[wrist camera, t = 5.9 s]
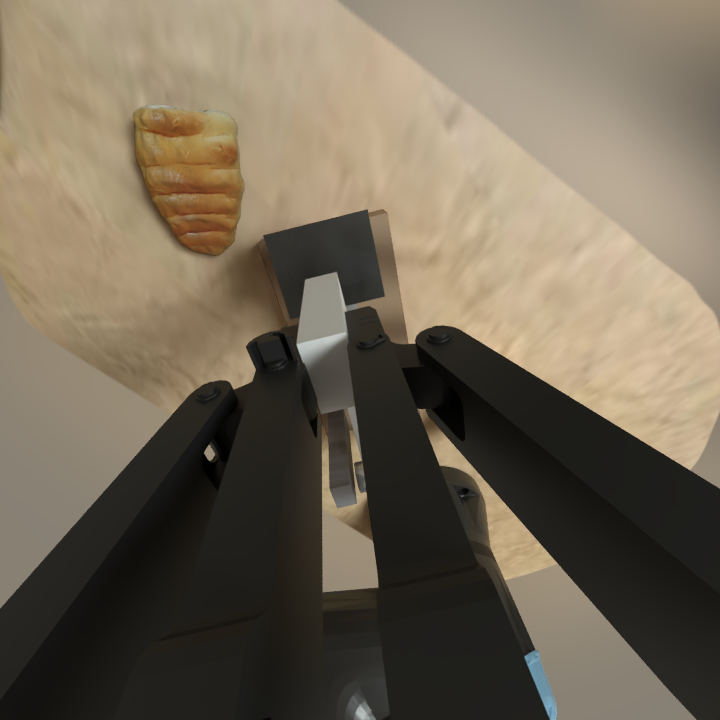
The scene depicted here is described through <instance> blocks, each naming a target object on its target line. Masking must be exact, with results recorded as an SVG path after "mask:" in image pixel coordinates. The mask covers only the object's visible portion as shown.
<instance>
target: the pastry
mask: <svg viewBox="0 0 720 720" xmlns="http://www.w3.org/2000/svg"><path fill="white" fill-rule="evenodd" d="M133 119H134V122H135V130H136V133H135V141H136V158H137V160H138V163H139V165H140V168H141V170H142V172H143V177H144V181H145V184H146V187H147V188H148V190H149V192H150V194H151V197H152V200H153V202H154V203H155V204H156V205H157V207H158V209H159V211H160V213H161V215H162V216H163V217H164V218H165V219H166V220H167V222H168V223H169V225H170V227H171V229H172V231H173V232H174V234H175V236H176V238H177V239H178V240H179V241H180V242H181V243H182V244H183V245H184V246H186V247H188V248H190V249H191V250H193V251H196V252H200V253H205V254H211V255H220V254H222V253H223V252H224V251H225V250H226V249H227V248H228V247H229V246H230V245H231V244H232V243H233V242H234V240H235V234H236V229H237V224H238V221H239V219H240V216H241V215H240V213H241V200H242V195H243V192H244V180H243V178H242V176H241V173H240V161H239V160H240V154H239V147H238V143H237V130H238V127H237V124H236V122H235V120H234V118H233V117H232V116H230V115H229V114H228V113H226V112H220V111H215V110H206V111H197V112H196V111H186V110H182V109H176V108H172V107H170V106H166V105H147V106H145V107H141V108H139V109H138V110H136V111H135V112H134V113H133Z"/></svg>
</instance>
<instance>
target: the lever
mask: <svg viewBox="0 0 720 720" xmlns="http://www.w3.org/2000/svg"><path fill="white" fill-rule="evenodd" d="M264 239H265V243H266V246H267V249H268V252H269V255H270V258H271V261H272V264H273V267H274V270H275V274H276V277H277V280H278V283H279V286H280V289H281V292H282V295H283V298H284V301H285V305H286V308H287V311H288V314H289V317H290V320H291V319H295V318H299V317H300V314H301V307H302V299H303V292H304V285H305V280H306V279H310V278H314V277H318V276H322V275H326V274H330V273H334V272H337V275H338V279H339V283H340V286H341V290H342V294H343V298H344V302H345V306H346V310H347V311H350V310H354V309H358V307H357V303H361V302H365V301H369V300H373V299H377V298H381V297H385V293H384V288H383V283H382V278H381V273H380V268H379V264H378V259H377V254H376V249H375V244H374V239H373V234H372V229H371V224H370V219H369V214H368V209H367V210H363V211H359V212H355V213H351V214H347V215H343V216H339V217H335V218H331V219H327V220H323V221H319V222H315V223H311V224H307V225H303V226H299V227H295V228H292V229H288V230H284V231H280V232H276V233H272V234H268V235H264ZM347 409H348V412H349V416H350V420H351V423H352V427H353V430H354V434H355V437H356V441H357V444H358V448H359V451H360V455H361V447H360V440H359V433H358V425H357V418H356V410H355V406H354V407H350V408H347ZM361 458H362V455H361ZM354 466H355V474H356V479H357V483H358V487H359V490H360V493H363V492H367V491H366V484H365V477H364V469H363V462H362V461H360V462H355V463H354Z"/></svg>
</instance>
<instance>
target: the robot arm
mask: <svg viewBox="0 0 720 720" xmlns="http://www.w3.org/2000/svg"><path fill="white" fill-rule="evenodd" d="M415 342H416V344H397V343H394V342H391V340H390V338H389V336H388V335H387V334H385V332H384V329H383V327H382V324H381V321H380V319H379V316H378V314H377V311H376V309H374V308H372V307H370V306H367V307H362V308H358V309H354V310H350V311H347V310H346V306H345V302H344V298H343V294H342V290H341V286H340V283H339V279H338V275H337V272H334V273H330V274H326V275H322V276H318V277H314V278H310V279H306V280H305V285H304V292H303V299H302V307H301V314H300V321H299V324H297V325H293V326H289V327H285V328H282V329H281V330H280V331H273V332H268V333H265V334H262V335H260V336H258V337H256V338H254V339H253V340H252V341H250V342H249V343H248V344H247V346H246V348H247V350H248V353H249V355H250V357H251V359H252V362H253V364H254V366H255V368H256V372H255V375H254V378H253V382H251V383H249V384H247V385H244V386H242V387H239V388H237V389H235V390H233V388H232V386H231V384H230V382H228V381H222V380H219V381H215V382H209V383H207V384H204V385H202V386H201V387H200V388H198V389H197V390H195V391H194V392H193V393H192V394H190V395H189V396H188V397H187V399H186V400H185V401H184V402H183V403H182V404H181V405H180V406H179V408H178V409H177V410H176V411H175V412H174V413H173V414H172V415H171V417H170V418H169V419H168V420H167V421H166V422H165V423H164V424H163V426H162V427H161V428H160V429H159V430H158V431H157V432H156V434H155V435H154V436H153V437H152V438H151V439H150V440H149V442H148V443H147V444H146V445H145V446H144V447H143V448H142V449H141V451H140V452H139V453H138V454H137V455H136V456H135V457H134V458H133V460H132V461H131V462H130V463H129V464H128V465H127V466H126V467H125V469H124V470H123V471H122V472H121V473H120V474H119V475H118V476H117V478H116V479H115V480H114V481H113V482H112V483H111V484H110V486H109V487H108V488H107V489H106V490H105V491H104V492H103V494H101V496H100V497H99V498H98V499H97V500H96V501H95V502H94V504H93V505H92V506H91V507H90V508H89V509H88V510H87V512H86V513H85V514H84V515H83V516H82V517H81V518H80V520H78V522H77V523H76V524H75V525H74V526H73V527H72V528H71V529H70V531H69V532H68V533H67V534H66V535H65V536H64V537H63V539H62V540H61V541H60V542H59V543H58V544H57V545H56V547H55V548H54V549H53V550H52V551H51V552H50V553H49V554H48V555H47V557H46V558H45V559H44V560H43V561H42V562H41V563H40V564H39V566H38V567H37V568H36V569H35V570H34V571H33V573H32V574H31V575H30V576H29V577H28V578H27V579H26V580H25V581H24V583H23V584H22V585H21V586H20V587H19V588H18V589H17V590H16V592H15V593H14V594H13V595H12V596H11V597H10V598H9V599H8V601H7V602H6V603H5V604H4V605H3V606H2V607H1V609H0V720H556V719H557V708H556V702H555V699H554V697H553V694H552V691H551V688H550V686H549V683H548V680H547V678H546V675H545V672H544V669H543V667H542V664H541V661H540V655H539V653H538V650H535V648H534V645H533V643H532V641H531V639H530V636H529V634H528V632H527V629H526V627H525V625H524V623H523V620H522V618H521V616H520V614H519V612H518V609H517V607H516V605H515V602H514V600H513V598H512V596H511V593H510V591H509V589H508V587H507V584H506V582H505V580H504V578H503V575H502V573H501V571H500V569H499V566H498V564H497V562H496V560H495V557H494V555H493V553H492V550H491V548H490V541H489V532H488V523H487V514H486V505H485V501H484V498H483V495H482V493H481V491H480V489H479V487H478V485H477V483H476V482H475V480H474V479H473V478H472V477H471V476H469V475H468V474H467V473H465V472H463V471H460V470H458V469H454V468H449V467H440V466H439V463H438V461H437V458H436V455H435V453H434V450H433V448H432V445H431V443H430V440H429V438H428V435H427V432H426V430H425V427H424V425H423V422H422V420H421V417H420V414H419V412H418V409H426V412H427V414H428V416H429V417H430V418H431V419H432V421H433V422H434V423H435V424H436V425H437V426H438V427H439V429H440V430H441V431H442V432H443V433H444V434H445V435H446V437H447V438H448V439H449V440H450V441H451V442H452V443H453V444H454V446H455V447H456V448H457V449H458V450H459V451H460V452H461V454H462V455H463V456H464V457H465V458H466V459H467V460H468V462H469V463H470V464H471V465H472V466H473V467H474V468H475V470H476V471H477V472H478V473H479V474H480V475H481V476H482V478H483V479H484V480H485V481H486V482H487V483H488V484H489V486H490V487H491V488H492V489H493V490H494V491H495V492H496V494H497V495H498V496H499V497H500V498H501V499H502V500H503V502H504V503H505V504H506V505H507V506H508V507H509V508H510V509H511V511H512V512H513V513H514V514H515V515H516V516H517V517H518V519H519V520H520V521H521V522H522V523H523V524H524V525H525V527H526V528H527V529H528V530H529V531H530V532H531V533H532V535H533V536H534V537H535V538H536V539H537V540H538V541H539V543H540V544H541V545H542V546H543V547H544V548H545V549H546V551H547V552H548V553H549V554H550V555H551V556H552V557H553V559H554V560H555V561H556V562H557V563H558V564H559V565H560V566H561V567H562V569H563V570H564V571H565V572H566V573H567V574H568V576H569V577H570V578H571V579H572V580H573V581H574V582H575V584H576V585H577V586H578V587H579V588H580V589H581V590H582V592H583V593H584V594H585V595H586V596H587V597H588V598H589V599H590V601H591V602H592V603H593V604H594V605H595V606H596V608H597V609H598V610H599V611H600V612H601V613H602V614H603V615H604V617H605V618H606V619H607V620H608V621H609V622H610V623H611V625H612V626H613V627H614V628H615V629H616V630H617V631H618V633H619V634H620V635H621V636H622V637H623V638H624V639H625V641H626V642H627V643H628V644H629V645H630V646H631V647H632V649H633V650H634V651H635V652H636V653H637V654H638V655H639V657H641V659H642V660H643V661H644V662H645V663H646V665H647V666H648V667H649V668H650V669H651V670H652V671H653V672H654V674H655V675H656V676H657V677H658V678H659V679H660V680H661V682H662V683H663V684H664V685H665V686H666V687H667V688H668V689H669V691H670V692H671V693H672V694H673V695H674V696H675V697H676V698H677V699H678V700H679V701H680V702H681V703H682V705H684V707H685V708H686V709H687V710H688V711H689V712H690V713H691V714H692V715H693V716H694V717H695V718H696V719H697V720H720V489H719V488H718V487H716V486H715V485H713V484H711V483H710V482H708V481H706V480H705V479H703V478H701V477H700V476H698V475H697V474H695V473H693V472H692V471H690V470H688V469H687V468H685V467H683V466H682V465H680V464H679V463H677V462H675V461H674V460H672V459H670V458H669V457H667V456H665V455H664V454H662V453H661V452H659V451H657V450H656V449H654V448H652V447H651V446H649V445H647V444H646V443H644V442H643V441H641V440H639V439H638V438H636V437H634V436H633V435H631V434H629V433H628V432H626V431H625V430H623V429H621V428H620V427H618V426H616V425H615V424H613V423H611V422H610V421H608V420H607V419H605V418H603V417H602V416H600V415H598V414H597V413H595V412H593V411H592V410H590V409H589V408H587V407H585V406H584V405H582V404H580V403H579V402H577V401H575V400H574V399H572V398H571V397H569V396H567V395H566V394H564V393H562V392H561V391H559V390H557V389H556V388H554V387H553V386H551V385H549V384H548V383H546V382H544V381H543V380H541V379H539V378H538V377H536V376H535V375H533V374H531V373H530V372H528V371H526V370H525V369H523V368H521V367H520V366H518V365H517V364H515V363H513V362H512V361H510V360H508V359H507V358H505V357H503V356H502V355H500V354H499V353H497V352H495V351H494V350H492V349H490V348H489V347H487V346H486V345H484V344H482V343H481V342H479V341H477V340H476V339H474V338H472V337H471V336H469V335H468V334H466V333H464V332H463V331H461V330H459V329H457V328H454V327H450V326H434V327H432V328H428V329H426V330H424V331H422V332H420V333H419V334H418V335H417V336H416V340H415ZM317 403H318V406H319V409H320V412H321V414H325V413H329V412H333V411H337V410H342V409H346V408H350V407H354V406H355V410H356V418H357V425H358V433H359V440H360V447H361V455H362V462H363V469H364V477H365V484H366V491H367V499H368V506H369V513H370V521H371V528H372V535H373V543H374V549H375V557H376V564H377V571H378V584H379V587H378V588H368V589H357V590H346V591H335V592H323V593H322V428H321V421H320V418H319V415H318V413H317ZM208 445H210V446H211V448H212V449H213V451H214V453H215V456H214V458H213V459H212V460H211V461H209V460H208V459H207V457H206V456H205V454H204V451H205V450H206V448H207V447H208Z"/></svg>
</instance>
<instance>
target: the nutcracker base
mask: <svg viewBox="0 0 720 720" xmlns="http://www.w3.org/2000/svg"><path fill="white" fill-rule="evenodd" d="M368 214H369V219H370V224H371V229H372V234H373V239H374V244H375V249H376V254H377V259H378V264H379V268H380V273H381V278H382V283H383V288H384V293H385V297H381V298H377V299H373V300H369V301H365V302H361V303H357V307H358V308H362V307H367V306H370V307H372V308H374V309H376V311H377V314H378V316H379V319H380V321H381V324H382V327H383V329H384V332H385V334H387V335H388V336H389V338H390V340H391V342H394V343H397V344H408V338H407V332H406V325H405V319H404V313H403V307H402V301H401V295H400V288H399V282H398V276H397V270H396V264H395V258H394V251H393V245H392V239H391V233H390V227H389V221H388V214H387V212H386V211H384V210H383V209H382V210H378V211H374V212H370V213H368ZM258 247H259V250H260V253H261V256H262V258H263V261H264V264H265V266H266V269H267V272H268V275H269V277H270V280H271V283H272V286H273V288H274V291H275V294H276V297H277V299H278V302H279V305H280V307H281V310H282V313H283V316H284V318H285V321H286V324H287V327H289V326H293V325H297V324H299V321H300V317H299V318H295V319H291V320H290V317H289V314H288V311H287V308H286V305H285V301H284V298H283V295H282V292H281V289H280V286H279V283H278V280H277V277H276V274H275V270H274V267H273V264H272V261H271V258H270V255H269V252H268V249H267V246H266V243H265V239H262V240H261V241H260V243H259V244H258ZM317 409H318V411H319V414H320V417H321V420H322V422H323V425H324V428H325V430H326V433H327V435H328V443H329V480H330V491H331V493H332V496H333V498H334V501H335V503H336V506H337V508H340V507H344V506H349V505H353V504H357V501H356V491H355V482H354V472H353V462H352V453H351V443H350V433H349V430H352V429H353V427H352V423H351V420H350V416H349V412H348V409H347V408H346V409H342V410H337V411H333V412H329V413H325V414H321V412H320V409H319V406H318V403H317ZM418 412H419V409H418ZM419 414H420V412H419Z"/></svg>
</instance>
